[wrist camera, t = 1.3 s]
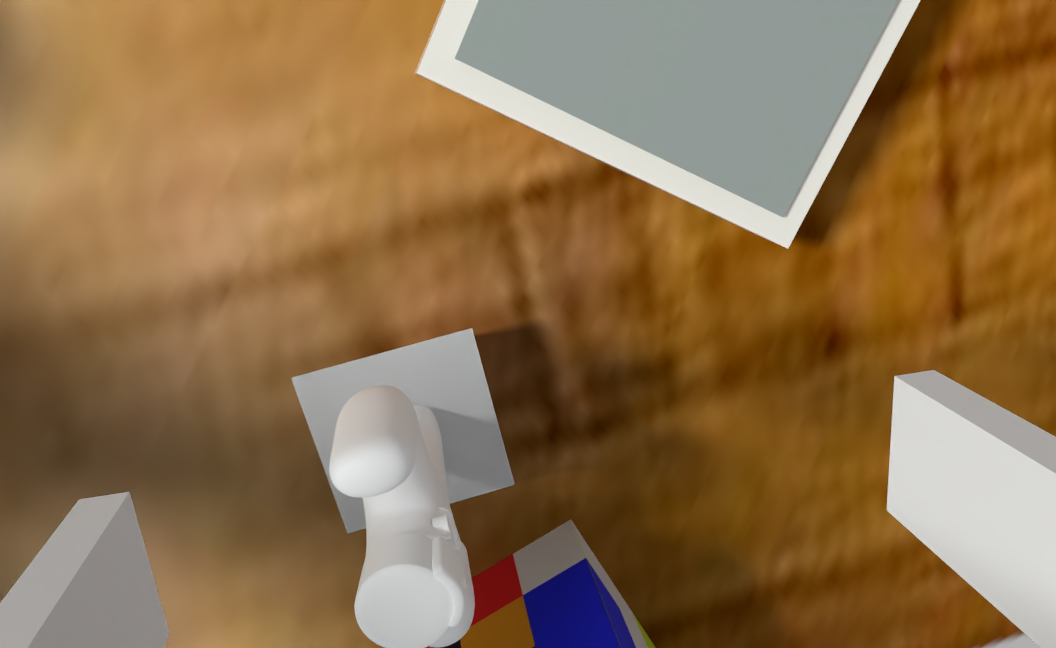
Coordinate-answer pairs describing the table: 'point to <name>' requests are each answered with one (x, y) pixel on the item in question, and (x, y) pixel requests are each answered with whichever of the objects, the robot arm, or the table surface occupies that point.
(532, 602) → the puzzle toy
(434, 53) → the plinth
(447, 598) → the figurine
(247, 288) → the table surface
